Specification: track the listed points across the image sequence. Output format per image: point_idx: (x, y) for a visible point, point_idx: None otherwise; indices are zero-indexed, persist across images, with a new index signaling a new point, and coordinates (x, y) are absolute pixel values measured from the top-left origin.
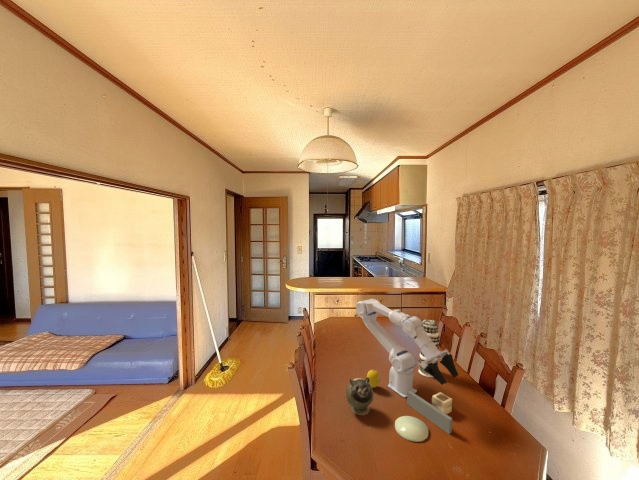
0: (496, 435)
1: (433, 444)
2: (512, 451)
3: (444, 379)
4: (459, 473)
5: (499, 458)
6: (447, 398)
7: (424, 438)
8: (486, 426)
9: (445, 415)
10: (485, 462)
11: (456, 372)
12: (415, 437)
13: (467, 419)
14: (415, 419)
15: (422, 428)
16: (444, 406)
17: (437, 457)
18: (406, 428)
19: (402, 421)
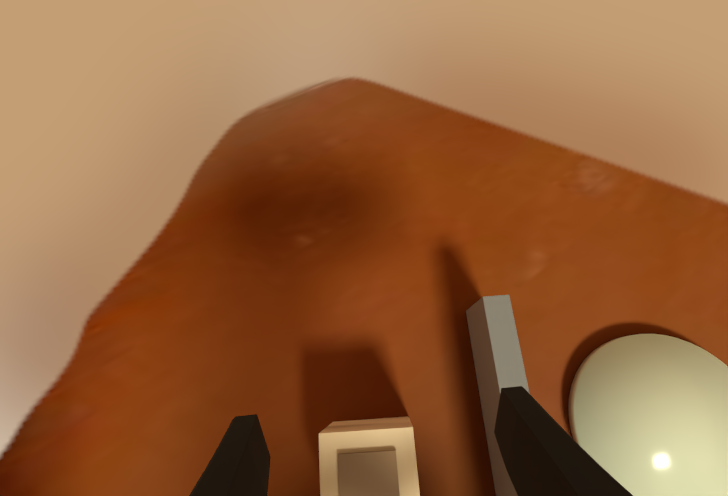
0: (298, 216)
1: (607, 297)
2: (328, 148)
3: (526, 414)
4: (602, 163)
5: (403, 148)
6: (343, 453)
7: (640, 334)
8: (281, 265)
9: (502, 332)
10: (468, 156)
11: (242, 442)
12: (690, 357)
13: (314, 336)
14: (607, 465)
15: (611, 387)
16: (402, 424)
17: (637, 241)
18: (708, 432)
19: (703, 493)
